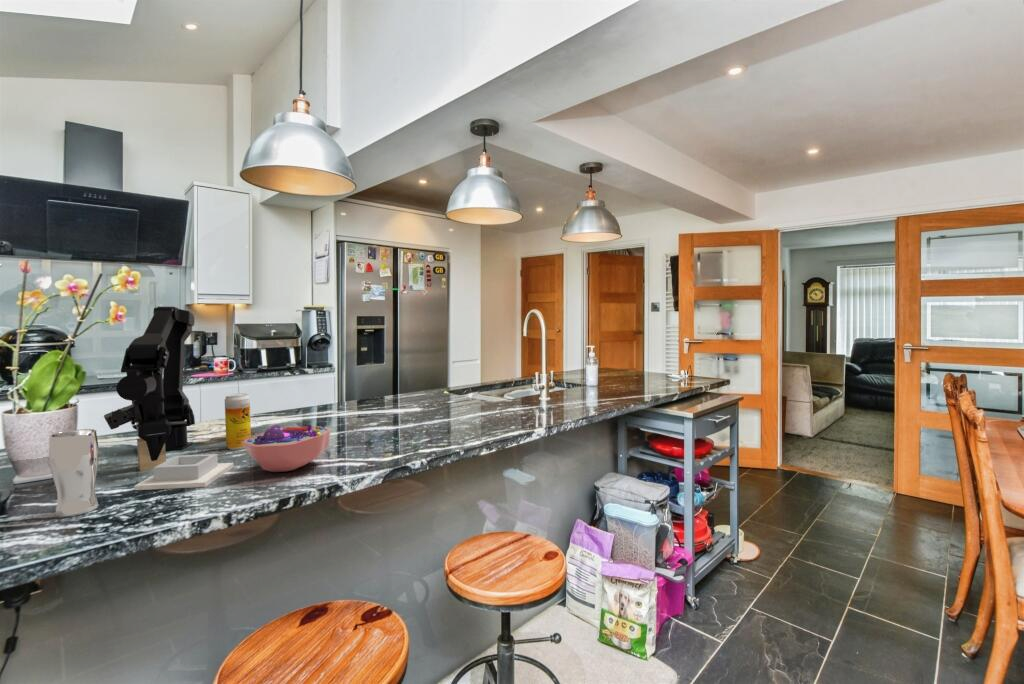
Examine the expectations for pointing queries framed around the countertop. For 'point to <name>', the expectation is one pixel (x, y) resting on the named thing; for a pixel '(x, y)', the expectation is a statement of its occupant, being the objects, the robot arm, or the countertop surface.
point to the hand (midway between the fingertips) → (151, 456)
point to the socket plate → (185, 472)
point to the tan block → (148, 456)
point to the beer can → (237, 420)
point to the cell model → (287, 447)
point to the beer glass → (74, 470)
